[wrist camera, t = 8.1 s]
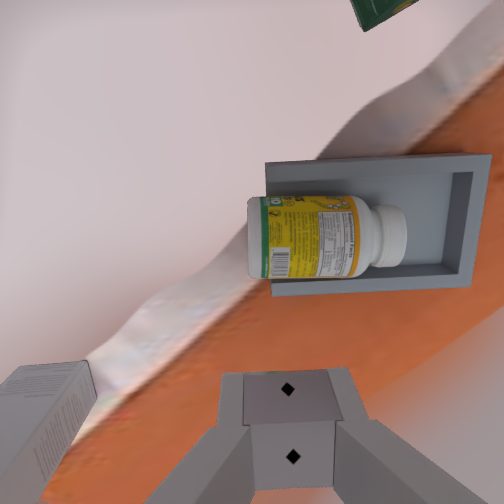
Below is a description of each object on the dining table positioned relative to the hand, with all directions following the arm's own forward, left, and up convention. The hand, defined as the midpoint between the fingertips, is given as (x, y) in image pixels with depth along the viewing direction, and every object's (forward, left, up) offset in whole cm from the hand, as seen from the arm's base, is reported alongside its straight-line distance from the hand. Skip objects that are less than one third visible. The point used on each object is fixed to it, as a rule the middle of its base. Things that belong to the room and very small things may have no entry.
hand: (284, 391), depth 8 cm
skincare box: (+13, -18, -19) cm, 29 cm away
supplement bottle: (0, -1, -15) cm, 15 cm away
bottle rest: (0, +8, -18) cm, 20 cm away
